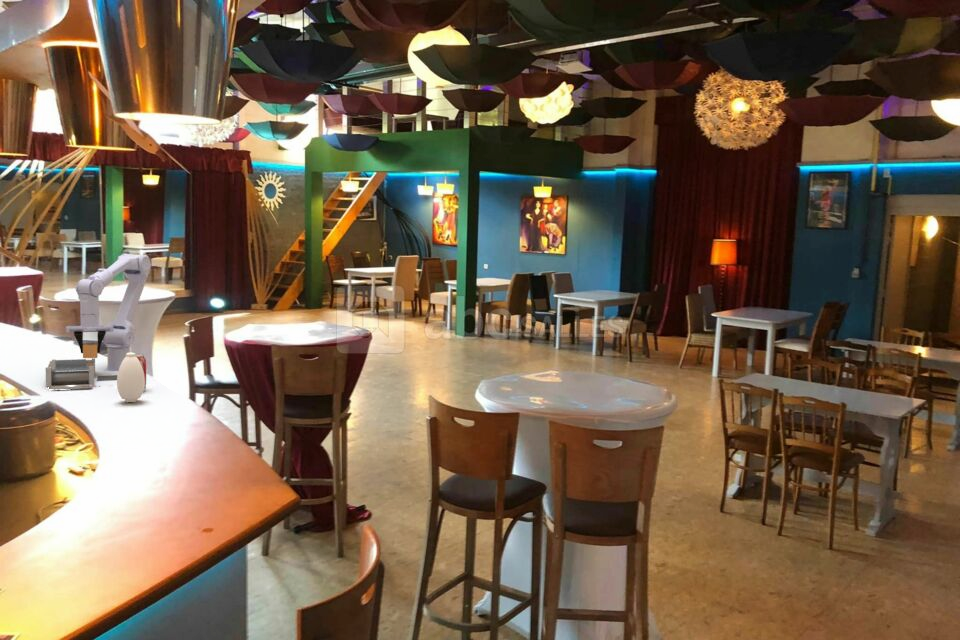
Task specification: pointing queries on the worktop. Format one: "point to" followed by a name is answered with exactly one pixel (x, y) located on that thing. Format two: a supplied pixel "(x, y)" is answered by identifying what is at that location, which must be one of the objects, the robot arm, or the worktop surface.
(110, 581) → the worktop surface
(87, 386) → the rod
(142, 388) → the egg-shaped bottle
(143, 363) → the soda can
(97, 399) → the worktop surface
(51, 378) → the case
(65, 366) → the lid
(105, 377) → the mat
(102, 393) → the worktop surface
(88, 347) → the module
